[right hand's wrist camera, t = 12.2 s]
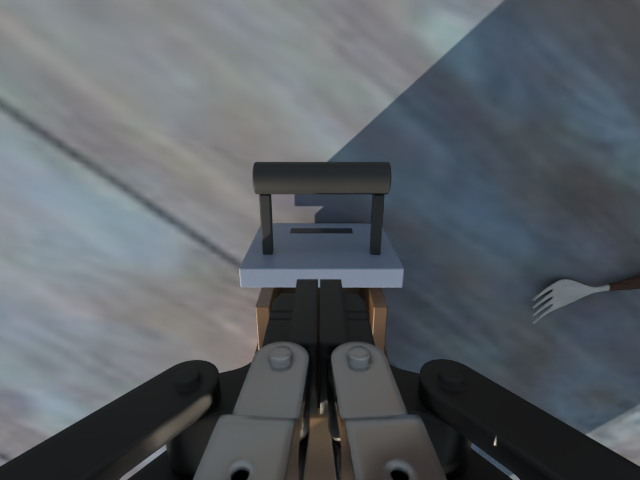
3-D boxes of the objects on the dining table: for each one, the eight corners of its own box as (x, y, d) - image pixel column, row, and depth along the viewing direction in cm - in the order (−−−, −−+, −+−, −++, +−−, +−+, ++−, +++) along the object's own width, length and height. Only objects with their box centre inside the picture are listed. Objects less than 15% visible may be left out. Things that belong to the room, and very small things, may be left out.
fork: (717, 278, 30) (744, 290, 28) (519, 312, 31) (532, 326, 29) (723, 249, 29) (751, 259, 27) (519, 286, 30) (532, 298, 28)
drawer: (257, 149, 25) (230, 168, 18) (385, 150, 25) (413, 168, 18) (272, 414, 34) (258, 503, 26) (369, 414, 34) (383, 504, 26)
